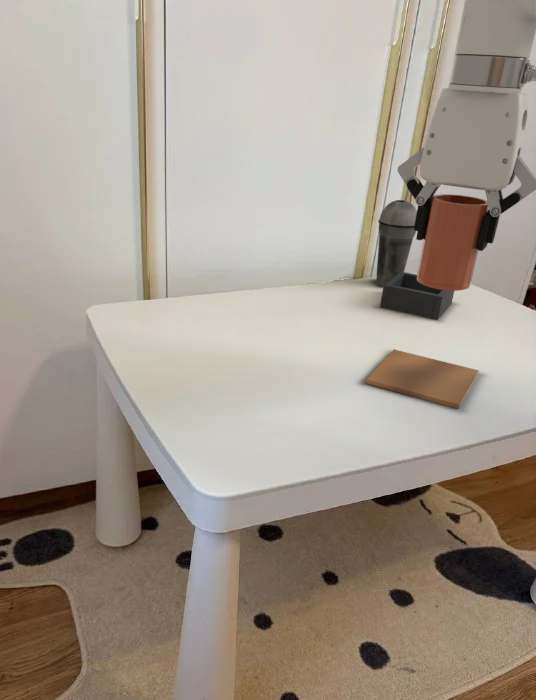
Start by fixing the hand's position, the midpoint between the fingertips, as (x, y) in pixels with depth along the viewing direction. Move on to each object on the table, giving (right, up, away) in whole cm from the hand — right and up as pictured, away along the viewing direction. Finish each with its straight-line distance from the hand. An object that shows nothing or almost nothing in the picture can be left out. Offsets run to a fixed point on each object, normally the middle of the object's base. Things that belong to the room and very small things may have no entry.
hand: (451, 241), depth 76 cm
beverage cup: (+3, +3, +45) cm, 45 cm away
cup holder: (+6, -2, +35) cm, 35 cm away
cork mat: (-1, -16, +8) cm, 18 cm away
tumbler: (0, -4, +2) cm, 5 cm away
